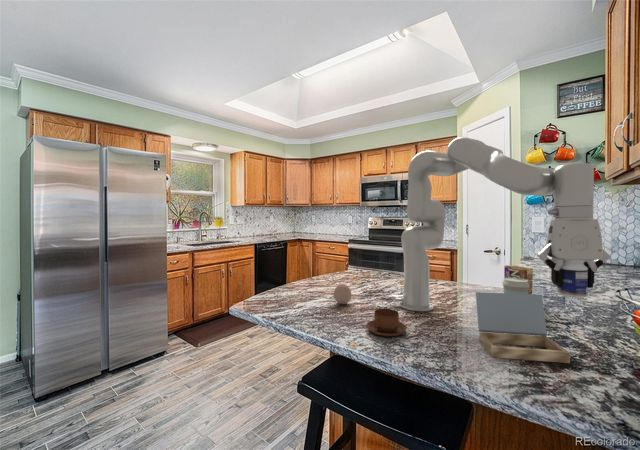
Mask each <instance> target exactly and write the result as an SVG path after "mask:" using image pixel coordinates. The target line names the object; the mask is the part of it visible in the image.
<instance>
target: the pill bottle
mask: <svg viewBox="0 0 640 450" xmlns="http://www.w3.org/2000/svg"><path fill="white" fill-rule="evenodd" d="M584 262H585V260H564V261H563V264H562V266H561V268H560V270H561V271H563V286H562V287H559V286H557V294H559V296H560V295H561V296H564V297H566V298H567V297H568V298H575V299H585V298H587V297H588V288H589V287H588V268H587V267H586V266H585V265H584Z"/></svg>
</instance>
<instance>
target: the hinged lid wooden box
mask: <svg viewBox="0 0 640 450" xmlns="http://www.w3.org/2000/svg"><path fill="white" fill-rule="evenodd" d="M478 336H479V337H478V338H479V339H478V341H479V343H480V344H481V345H482V346H483V347H484V348H485V350H486V352H488V353H489V355H490V356H491V357H492V358H499V359H511V360H513V359H514V360H525V361H526V360H527V361H537V362H538V361H539V362H552V363H564V364H570V363H571V352H570V351H568V350H567V349H565V348H564V347H563V346H561V345H560V344H558V343H557V342H556V341H555V340H553V339H551V338H550V337H548V335H547V336H538V335H522V334H506V333H490V332H479V331H478ZM495 344H500V345H495ZM501 345H502V346H501ZM505 345H516V346H526V347H516V346H505ZM527 346H528V347H529V348H528V347H527ZM531 347H542V349H541V348H531ZM543 347H545V348H546V349H545V348H544V349H543Z"/></svg>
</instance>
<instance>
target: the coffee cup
mask: <svg viewBox="0 0 640 450" xmlns="http://www.w3.org/2000/svg"><path fill="white" fill-rule="evenodd" d="M501 285H502V287H503V293H509V294H528V289H529V287H530V286H529V283H528V280H525V279H521V278H504V277H503V280H502V283H501Z"/></svg>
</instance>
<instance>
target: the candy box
mask: <svg viewBox="0 0 640 450" xmlns="http://www.w3.org/2000/svg"><path fill="white" fill-rule="evenodd" d="M503 269H504V270H503V271H504V272H503V273H504V274H503V275H504V277H503V279H504V278H521V279H525V280H528V283H529V286H530V287H529V289H528V294H533V285H534V284H533V282H534V281H533V278H534V273H533V271H534V269H533V267H526V266H519V265H513V264H507V265H504V267H503Z"/></svg>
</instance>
